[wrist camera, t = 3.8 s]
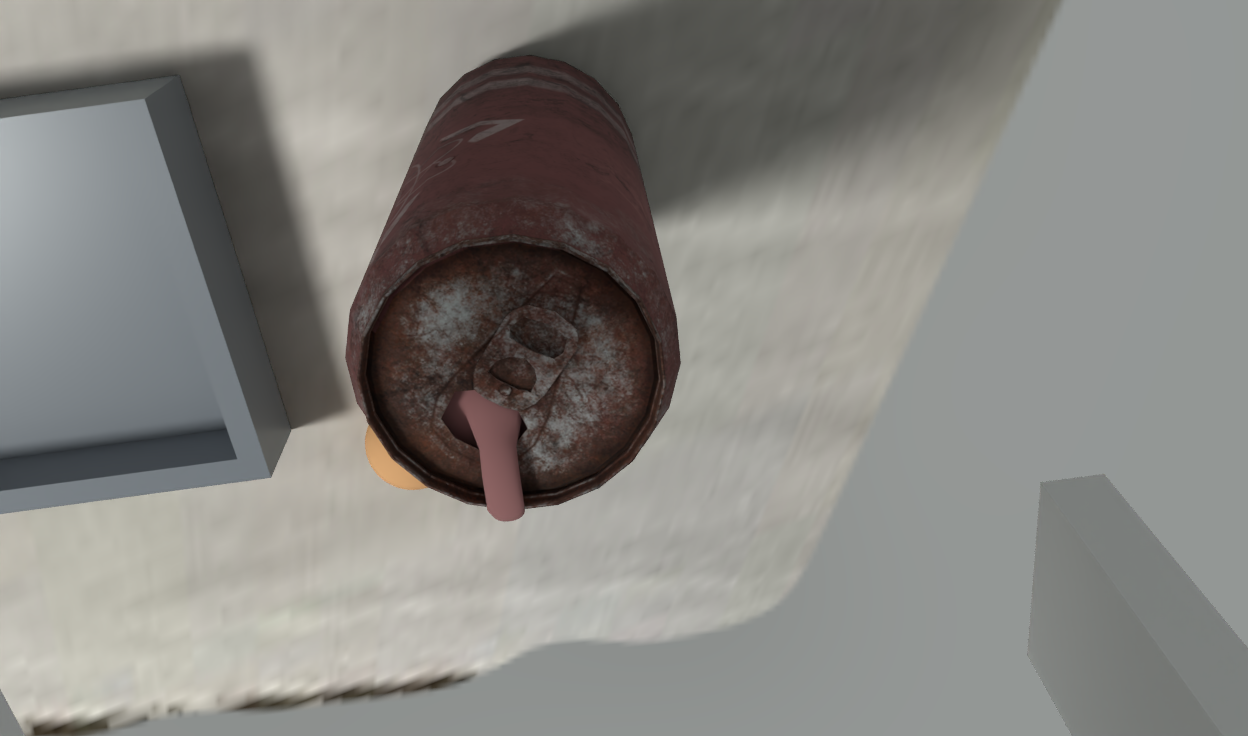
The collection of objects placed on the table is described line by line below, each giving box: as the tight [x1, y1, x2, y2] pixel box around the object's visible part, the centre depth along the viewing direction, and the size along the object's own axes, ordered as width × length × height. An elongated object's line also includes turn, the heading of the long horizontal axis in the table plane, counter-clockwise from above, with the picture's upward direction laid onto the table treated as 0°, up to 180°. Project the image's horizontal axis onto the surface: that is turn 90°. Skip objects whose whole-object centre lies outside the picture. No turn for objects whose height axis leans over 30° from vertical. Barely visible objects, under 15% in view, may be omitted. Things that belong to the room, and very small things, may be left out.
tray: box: [0, 75, 291, 514], centre depth 31 cm, size 12×12×3 cm
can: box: [345, 55, 681, 521], centre depth 25 cm, size 6×6×14 cm
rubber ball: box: [365, 426, 428, 490], centre depth 33 cm, size 3×3×3 cm
